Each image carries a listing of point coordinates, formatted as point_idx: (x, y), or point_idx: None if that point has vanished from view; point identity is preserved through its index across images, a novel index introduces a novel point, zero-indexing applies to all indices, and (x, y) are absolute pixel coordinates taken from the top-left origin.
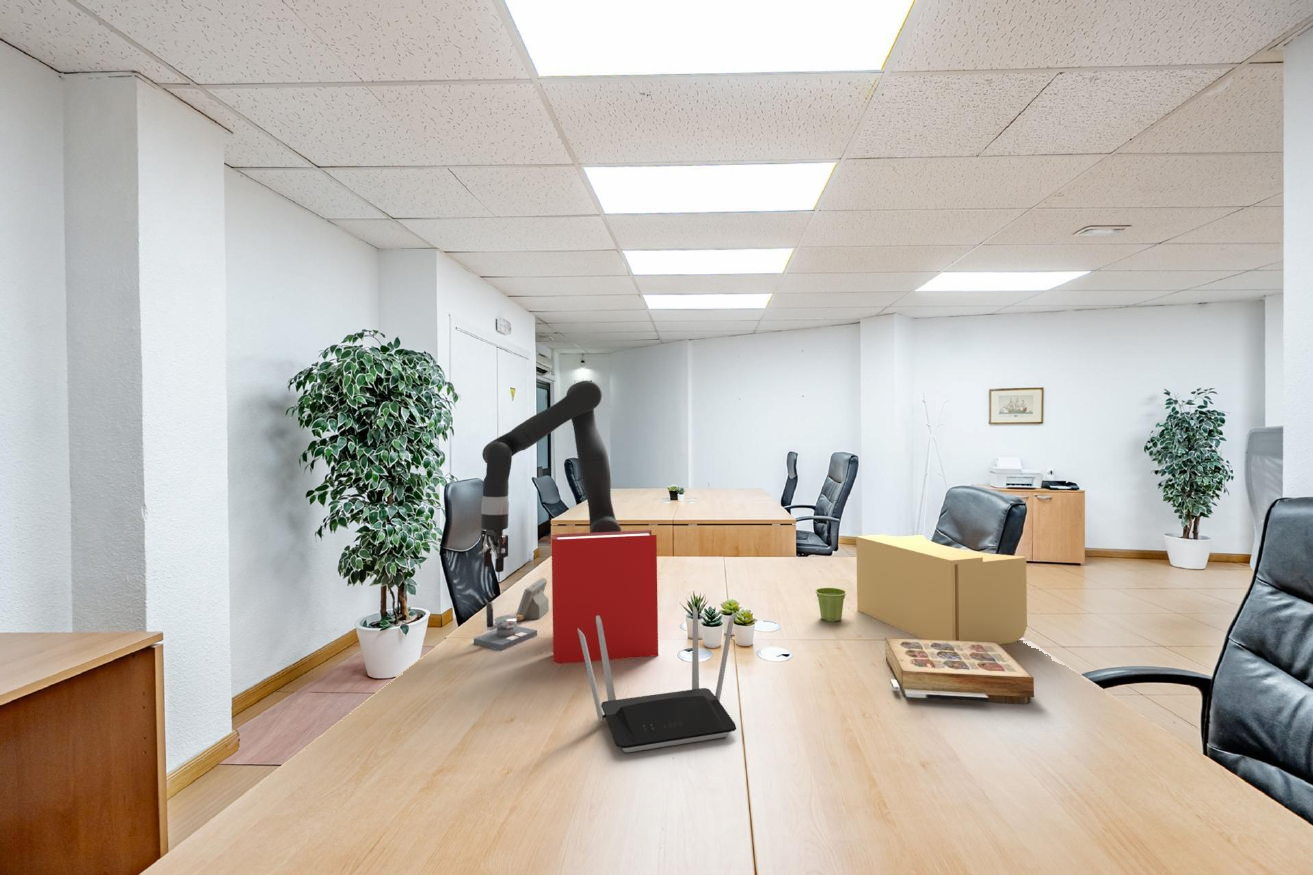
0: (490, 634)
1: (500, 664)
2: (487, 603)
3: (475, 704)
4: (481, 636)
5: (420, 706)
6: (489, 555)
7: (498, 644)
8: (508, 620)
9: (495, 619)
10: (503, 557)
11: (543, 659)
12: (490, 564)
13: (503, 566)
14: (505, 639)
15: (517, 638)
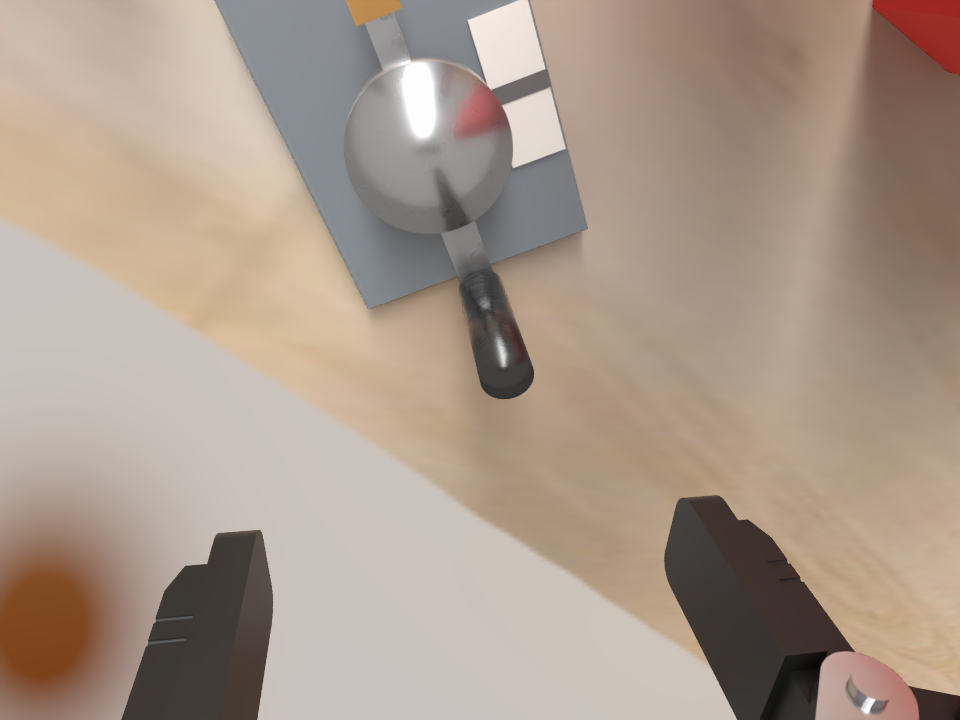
0: (360, 207)
1: (736, 293)
2: (507, 392)
3: (937, 466)
4: (363, 264)
5: (803, 569)
6: (231, 711)
7: (562, 237)
8: (490, 157)
9: (398, 224)
10: (925, 706)
11: (872, 95)
12: (256, 550)
13: (749, 539)
14: (516, 171)
15: (554, 100)
